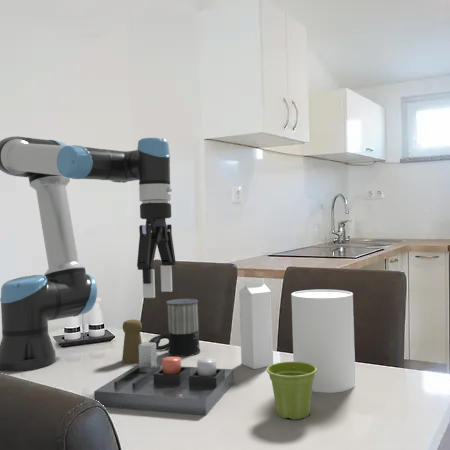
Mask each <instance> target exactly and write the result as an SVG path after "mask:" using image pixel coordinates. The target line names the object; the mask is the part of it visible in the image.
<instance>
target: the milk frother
mask: <svg viewBox="0 0 450 450" xmlns="http://www.w3.org/2000/svg"><path fill="white" fill-rule="evenodd" d="M198 303H199V300H198V299H197V298H177V299H171V300H166V304H167V323H168V324H167V325H168V333H163V334H159V335H155V336H154V337H152V338H151V339H150V340H148V342H154V343H156V351H162V350H163V351H164V350H166V349H168V352H167V353H168V354H169V355H170V356H172V357H188V356H194V355H198V354H199V353H200V352H201V347H200V339H199V338H200V337H199V336H200V308H199V306H198ZM162 339H164V340H165V339H167V340H168V343H166V344H163V345H159V344H160V342H161V340H162Z"/></svg>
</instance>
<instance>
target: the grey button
mask: <svg viewBox="0 0 450 450" xmlns="http://www.w3.org/2000/svg"><path fill="white" fill-rule="evenodd" d="M196 362H197V366H196V367H197V369H198V376H210V377H215V376H216V375H217V371H216V368H217V359H215V358H210V357H209V358H200V359H198V360H197V361H196Z"/></svg>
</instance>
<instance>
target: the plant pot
mask: <svg viewBox="0 0 450 450" xmlns="http://www.w3.org/2000/svg"><path fill="white" fill-rule="evenodd" d="M316 372H317V368H316V367H315V366H314V365H311V364H308V363H303V362H294V361H282V362H281V361H280V362H276V363H273V364H272V365H270V366H268V367H266V373H268V374H269V379H270V381H271V386H272V391H273V396H274V397H273V398H274V401H275V403H274V404H275V409H276V414H277V416H279V417H280V418H283V419H287V418H289V419H291V420H301V419H305V418H308V417H309V414H310V412H311V404H312V403H311V401H312V393H313V391H312V383H313V379H314V375H315V373H316Z"/></svg>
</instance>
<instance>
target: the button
mask: <svg viewBox="0 0 450 450" xmlns="http://www.w3.org/2000/svg"><path fill="white" fill-rule="evenodd" d="M181 367H182V357H181V356H167V357H164V358H162V368H163V374H176V375H178V374H180V373H181Z"/></svg>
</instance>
